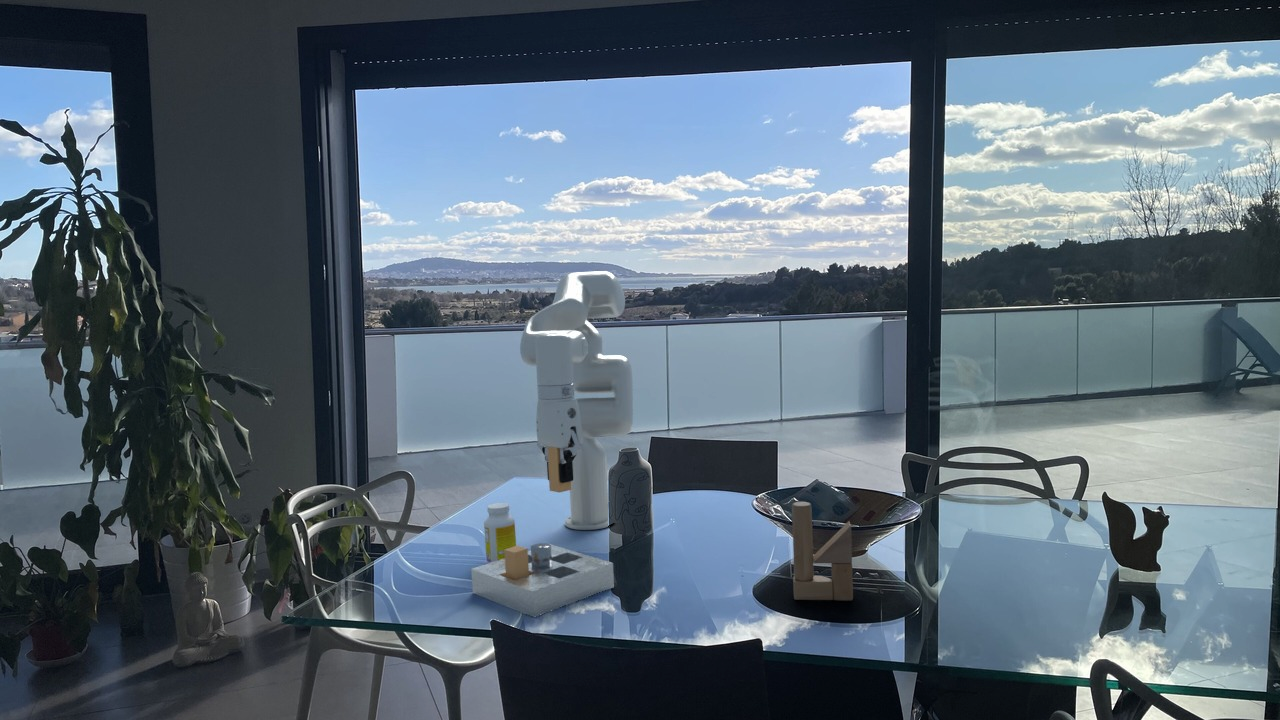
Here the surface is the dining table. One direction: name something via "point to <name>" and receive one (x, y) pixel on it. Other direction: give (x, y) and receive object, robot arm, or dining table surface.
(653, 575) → the dining table surface
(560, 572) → the grey peg hole board
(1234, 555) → the dining table surface
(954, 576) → the dining table surface
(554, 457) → the tan square prism
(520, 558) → the tall tan wooden post
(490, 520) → the supplement bottle
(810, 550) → the wooden block structure
